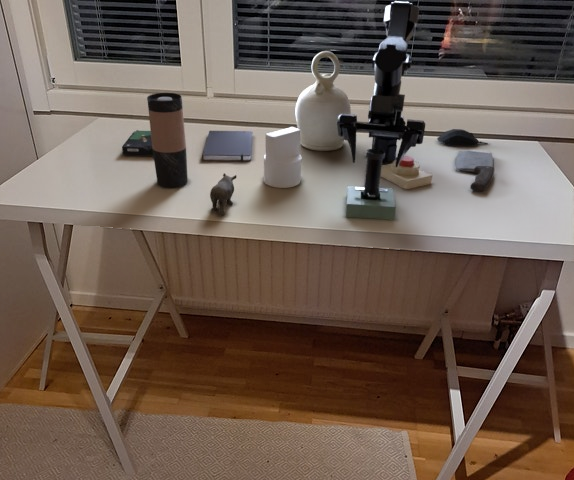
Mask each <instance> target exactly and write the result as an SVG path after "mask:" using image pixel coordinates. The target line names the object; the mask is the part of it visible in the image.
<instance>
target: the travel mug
mask: <svg viewBox="0 0 574 480" xmlns="http://www.w3.org/2000/svg"><path fill="white" fill-rule="evenodd" d="M146 100H147V108H148V110H147V111H148V119H149V128H150V131H151V139H152V148H153V156H152V157H153V161H154V168H155V175H156V181H157V185H158V186H159V187H162V188H166V189H178V188H181V187H184V186H186V185H187V184H188V182H189V181H188V180H189V179H188V178H189V177H188V159H187V156H188V155H187V143H186V141H187V140H186V131H185V119H184V108H183V107H184V106H183V97H182V95H180V94H179V93H174V92H156V93H152V94H150V95H148V96H147V98H146Z"/></svg>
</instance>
